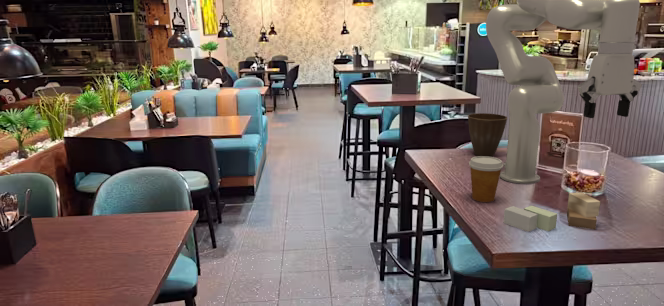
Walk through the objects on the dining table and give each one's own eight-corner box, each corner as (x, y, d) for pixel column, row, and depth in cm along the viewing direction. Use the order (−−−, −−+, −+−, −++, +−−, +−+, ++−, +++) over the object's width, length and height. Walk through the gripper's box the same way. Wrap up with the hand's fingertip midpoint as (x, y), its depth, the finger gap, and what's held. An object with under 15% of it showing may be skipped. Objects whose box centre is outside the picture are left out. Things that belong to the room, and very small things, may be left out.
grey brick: (503, 223, 116) (504, 208, 115) (511, 220, 118) (512, 206, 117) (528, 232, 110) (529, 217, 109) (536, 229, 112) (537, 214, 111)
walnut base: (566, 214, 121) (567, 204, 121) (591, 218, 119) (593, 207, 118) (568, 227, 114) (569, 216, 113) (595, 231, 111) (596, 220, 110)
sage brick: (522, 222, 116) (523, 208, 115) (529, 219, 118) (531, 205, 117) (548, 231, 110) (549, 216, 109) (555, 228, 112) (557, 213, 111)
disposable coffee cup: (499, 195, 136) (503, 157, 133) (500, 205, 127) (503, 165, 124) (467, 191, 139) (469, 154, 136) (465, 202, 130) (468, 163, 127)
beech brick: (567, 207, 119) (569, 193, 118) (579, 206, 119) (581, 192, 118) (585, 217, 112) (587, 202, 111) (598, 216, 113) (600, 201, 112)
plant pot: (509, 154, 183) (513, 115, 179) (495, 161, 172) (498, 121, 168) (474, 148, 192) (477, 112, 188) (459, 155, 182) (461, 116, 178)
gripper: (634, 48, 117) (624, 113, 121) (573, 49, 115) (565, 115, 119) (658, 49, 110) (646, 118, 114) (594, 50, 107) (585, 120, 112)
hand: (605, 116), depth 116 cm, fingers open, 9 cm apart
